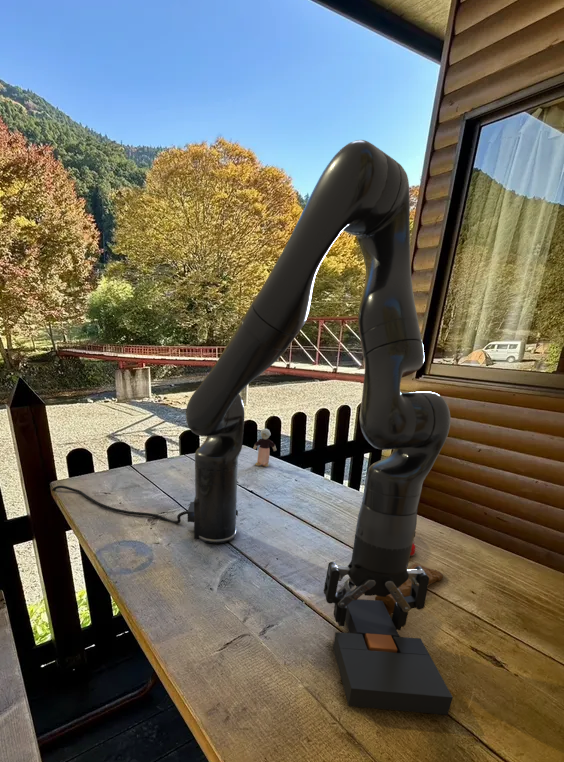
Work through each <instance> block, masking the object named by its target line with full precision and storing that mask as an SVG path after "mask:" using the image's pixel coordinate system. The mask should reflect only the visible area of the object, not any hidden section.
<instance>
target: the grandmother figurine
mask: <svg viewBox="0 0 564 762" xmlns="http://www.w3.org/2000/svg"><path fill="white" fill-rule="evenodd" d="M271 435H272V434H271V431H270V429H268V428H262V429H261V431H260V437H261V438H259V439H258V440H257V441H256V442H255V443H254V445H253V448H252V449H253V450H257V448H258V450H257V459H256V460H257V461H256V463H255V466H256V467H257V466H258V467H261V466H262V467H267V468H268V467H269V466H270V465H269V462H270V455H271V454H270V451H271V450H270V447H271V448H272V450H273V452H276V451H277V447H276V443H274V441H272V440H271V439H269V438H270V436H271Z"/></svg>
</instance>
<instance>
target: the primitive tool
mask: <svg viewBox="0 0 564 762" xmlns="http://www.w3.org/2000/svg"><path fill="white" fill-rule="evenodd" d="M417 566H420V567H422V568H423V570H424V571H425V573H426V574H427V575H428V577H429V583H428V586H429V585H432V584H433V583H436V582H440V581H442V580H443V578H444V574H443V573H442V572H441V571H440V570H437V569H433V568H428V567H427V566H423V565H421V564H419V563H413V564H412V565H411V567H410V568H409V570H414V568H415V567H417ZM411 585H412V583H411V581H410V579H409V578H408V579H407V581H406V582H404V583H403V584H402V585H401V586H400V587H399V589H400V591H401V592H402V594H403V595H404V597H407V596H410V591H411ZM374 600H378V601H383V603H384V605H385V607H386V609H387V611H388V613H389V615H393V610H394V605H395V602H396V601H395V599H394V598H393V596H392V595H391V594H389V595H387V596H386V597H381V596H377V595H375V597H374ZM396 603H397V602H396Z"/></svg>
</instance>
